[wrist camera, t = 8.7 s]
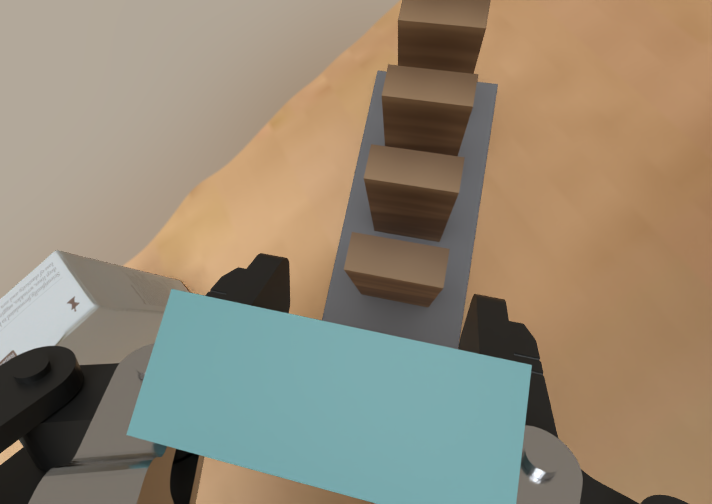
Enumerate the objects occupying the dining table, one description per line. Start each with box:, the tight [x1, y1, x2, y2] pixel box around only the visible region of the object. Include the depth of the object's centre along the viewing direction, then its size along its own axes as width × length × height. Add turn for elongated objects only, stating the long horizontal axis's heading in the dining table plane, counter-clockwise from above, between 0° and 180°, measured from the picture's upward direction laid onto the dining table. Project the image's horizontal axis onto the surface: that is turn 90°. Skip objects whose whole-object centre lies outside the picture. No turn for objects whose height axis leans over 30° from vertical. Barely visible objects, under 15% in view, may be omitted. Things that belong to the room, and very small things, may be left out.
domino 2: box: [398, 0, 490, 74], centre depth 28 cm, size 2×5×10 cm, turn 78°
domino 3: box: [382, 65, 478, 156], centre depth 27 cm, size 2×5×10 cm, turn 79°
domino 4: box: [364, 144, 465, 242], centre depth 26 cm, size 2×5×10 cm, turn 78°
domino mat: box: [322, 71, 498, 349], centre depth 31 cm, size 26×10×1 cm, turn 168°
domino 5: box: [344, 232, 450, 307], centre depth 25 cm, size 2×5×10 cm, turn 78°
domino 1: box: [126, 289, 532, 504], centre depth 10 cm, size 2×5×10 cm, turn 78°
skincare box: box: [0, 251, 190, 365], centre depth 26 cm, size 6×4×12 cm
